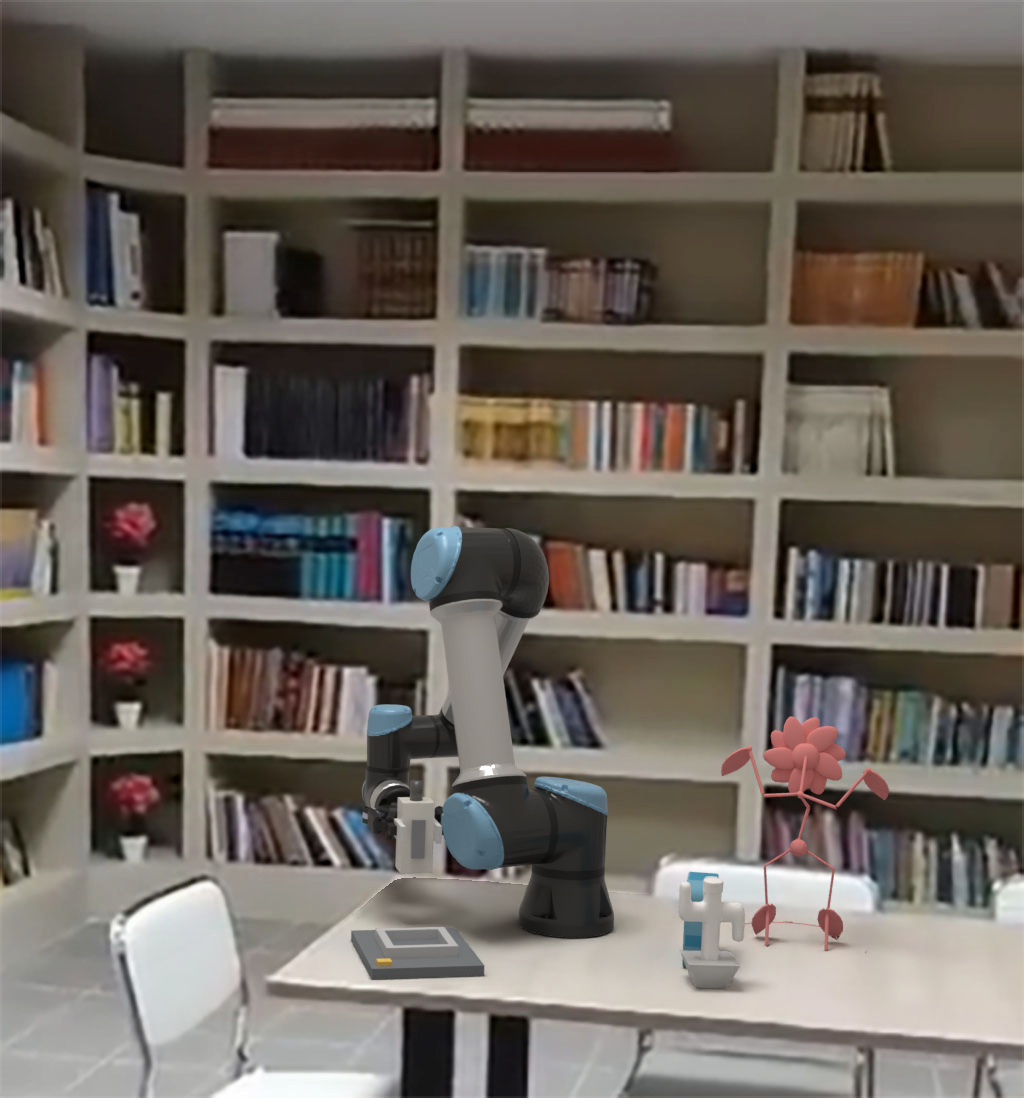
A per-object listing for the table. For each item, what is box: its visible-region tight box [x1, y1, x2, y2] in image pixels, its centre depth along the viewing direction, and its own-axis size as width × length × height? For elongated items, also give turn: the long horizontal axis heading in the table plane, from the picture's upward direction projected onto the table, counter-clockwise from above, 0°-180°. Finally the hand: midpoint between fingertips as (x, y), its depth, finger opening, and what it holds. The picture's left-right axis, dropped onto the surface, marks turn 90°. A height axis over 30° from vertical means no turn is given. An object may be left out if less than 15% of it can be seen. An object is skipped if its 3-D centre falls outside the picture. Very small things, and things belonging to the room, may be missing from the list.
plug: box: [395, 779, 436, 875], centre depth 259 cm, size 5×6×14 cm
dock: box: [350, 926, 485, 981], centre depth 241 cm, size 16×20×3 cm
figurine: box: [678, 876, 746, 989], centre depth 234 cm, size 7×9×15 cm
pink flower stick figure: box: [720, 716, 890, 954], centre depth 260 cm, size 15×26×35 cm, turn 81°
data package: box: [681, 871, 720, 968], centre depth 246 cm, size 12×4×12 cm, turn 171°
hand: (421, 835), depth 254 cm, fingers closed on plug, 5 cm apart
